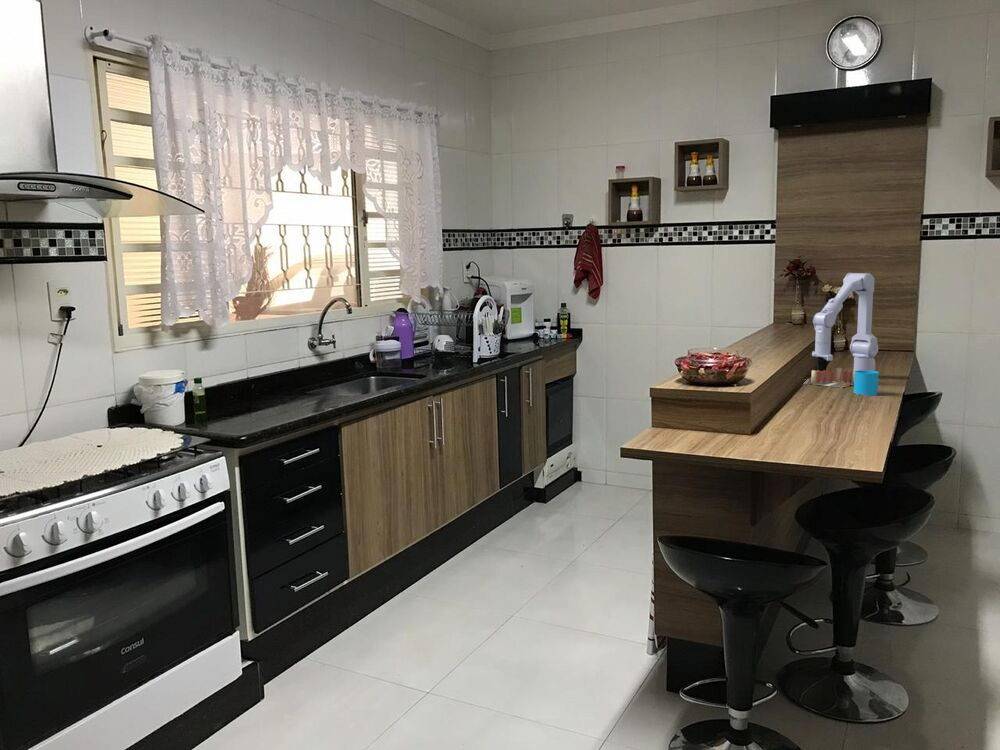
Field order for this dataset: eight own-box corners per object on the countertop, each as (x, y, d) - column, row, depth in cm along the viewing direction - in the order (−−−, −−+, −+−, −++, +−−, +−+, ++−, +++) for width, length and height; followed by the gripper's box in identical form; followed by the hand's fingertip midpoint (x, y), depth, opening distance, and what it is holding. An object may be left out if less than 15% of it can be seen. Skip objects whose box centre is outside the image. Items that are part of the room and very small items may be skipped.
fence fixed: (834, 383, 327) (835, 368, 326) (836, 382, 328) (837, 367, 328) (856, 385, 321) (856, 370, 320) (858, 384, 323) (858, 369, 322)
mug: (875, 396, 297) (876, 374, 296) (851, 394, 301) (852, 372, 300) (881, 391, 307) (882, 370, 305) (857, 389, 311) (858, 368, 310)
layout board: (818, 376, 344) (818, 375, 344) (865, 381, 331) (865, 380, 331) (794, 383, 328) (794, 382, 328) (843, 388, 314) (843, 387, 314)
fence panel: (833, 381, 327) (833, 369, 327) (836, 382, 326) (836, 369, 325) (810, 382, 325) (810, 370, 325) (812, 383, 324) (813, 371, 323)
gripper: (805, 340, 332) (804, 373, 334) (820, 344, 317) (819, 379, 319) (822, 340, 332) (821, 373, 334) (838, 344, 317) (837, 378, 320)
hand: (821, 376), depth 327 cm, fingers closed, pressing on fence panel
